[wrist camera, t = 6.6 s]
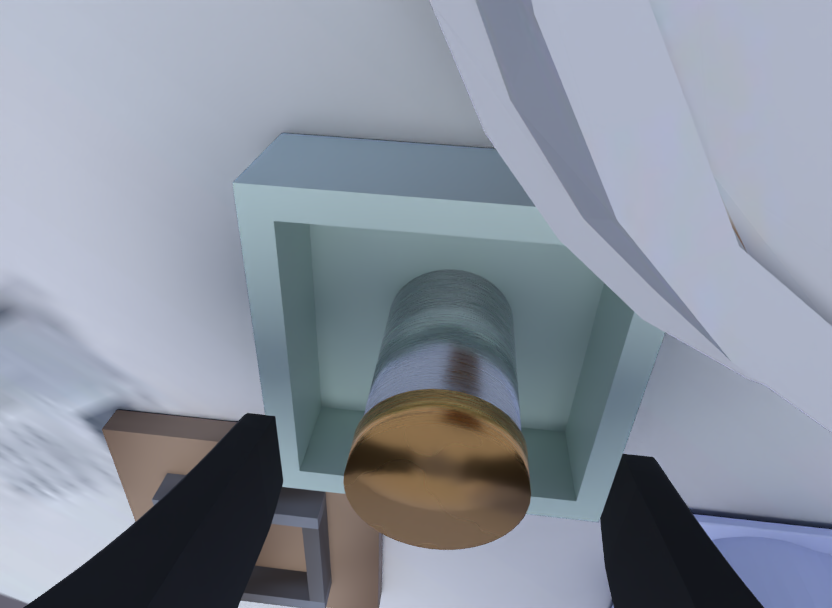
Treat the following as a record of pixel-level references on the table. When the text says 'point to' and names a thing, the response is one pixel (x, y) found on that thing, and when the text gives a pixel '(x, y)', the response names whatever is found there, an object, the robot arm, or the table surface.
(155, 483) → the socket plate
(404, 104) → the table surface
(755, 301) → the disposable coffee cup
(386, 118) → the table surface
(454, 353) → the metal can
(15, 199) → the table surface
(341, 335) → the bin
